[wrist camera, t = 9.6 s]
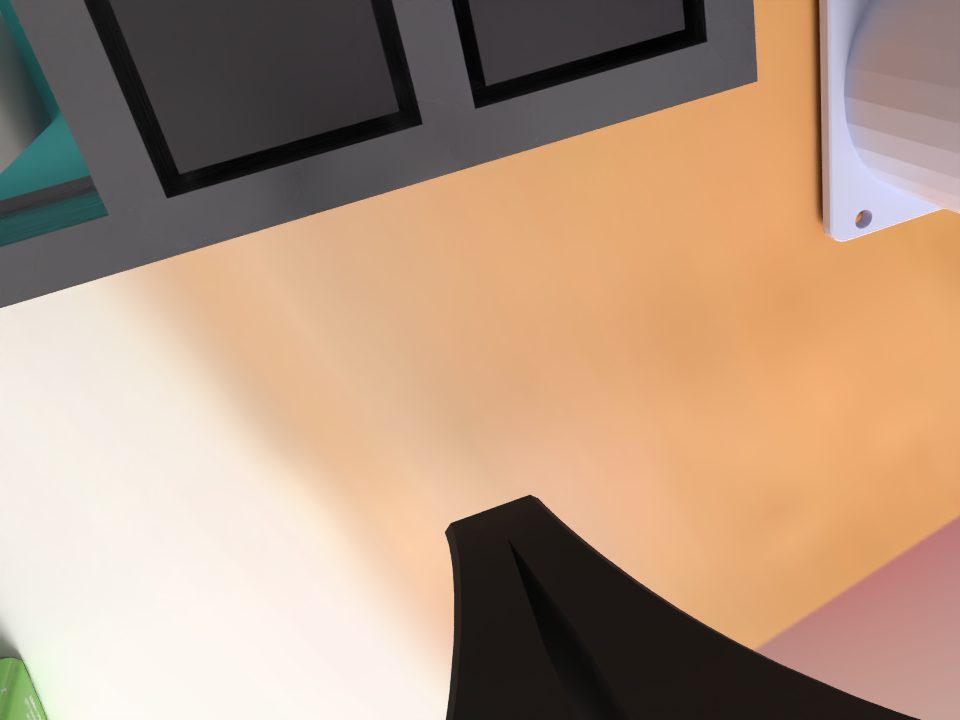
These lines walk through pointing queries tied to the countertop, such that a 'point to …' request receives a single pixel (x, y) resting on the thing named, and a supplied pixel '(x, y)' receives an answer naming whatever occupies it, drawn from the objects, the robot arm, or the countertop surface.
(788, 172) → the countertop surface
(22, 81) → the block
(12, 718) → the ink box
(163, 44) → the rack
